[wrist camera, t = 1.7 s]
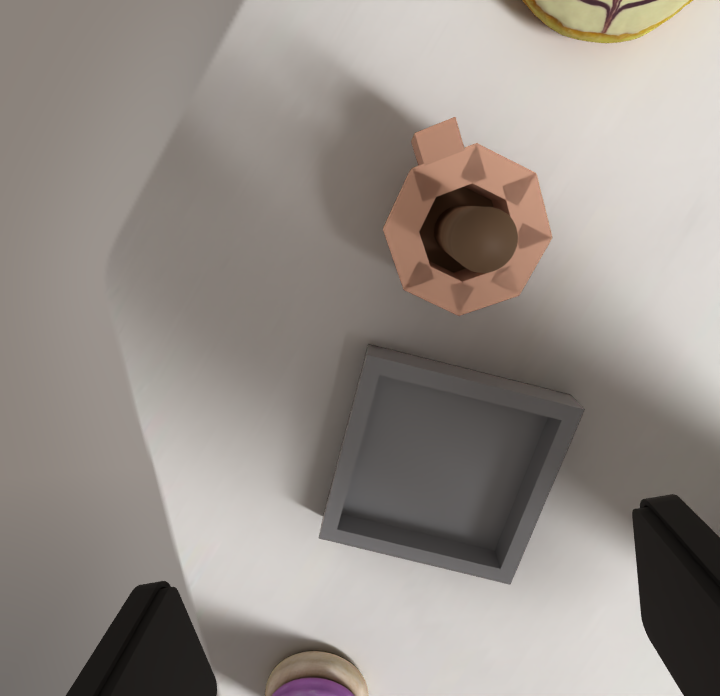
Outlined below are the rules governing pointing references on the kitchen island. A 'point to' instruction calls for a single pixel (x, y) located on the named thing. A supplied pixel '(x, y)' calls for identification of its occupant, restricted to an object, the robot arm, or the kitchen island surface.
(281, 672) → the stacking toy
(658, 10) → the decorated donut
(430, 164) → the ring
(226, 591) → the kitchen island surface
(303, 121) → the kitchen island surface
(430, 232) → the rod
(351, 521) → the tray
